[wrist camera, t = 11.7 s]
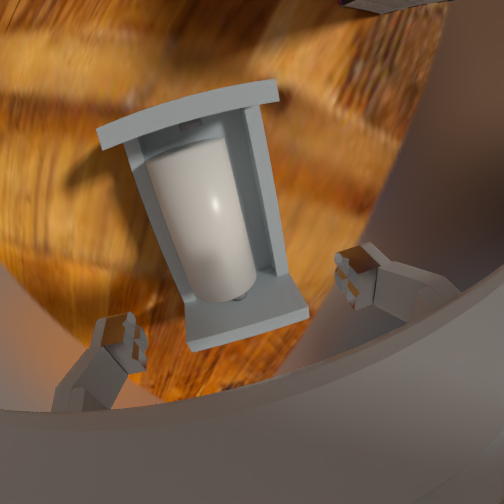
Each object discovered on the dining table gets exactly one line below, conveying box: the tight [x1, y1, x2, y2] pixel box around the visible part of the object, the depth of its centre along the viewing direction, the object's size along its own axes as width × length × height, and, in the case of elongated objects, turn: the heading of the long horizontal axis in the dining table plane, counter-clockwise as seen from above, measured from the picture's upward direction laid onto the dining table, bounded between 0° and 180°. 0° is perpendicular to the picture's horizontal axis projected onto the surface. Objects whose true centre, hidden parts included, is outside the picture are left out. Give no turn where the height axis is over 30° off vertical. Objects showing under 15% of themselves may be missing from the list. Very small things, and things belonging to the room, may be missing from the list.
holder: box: [96, 79, 309, 352], centre depth 18 cm, size 16×9×7 cm, turn 11°
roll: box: [145, 137, 256, 303], centre depth 18 cm, size 10×5×5 cm, turn 11°
